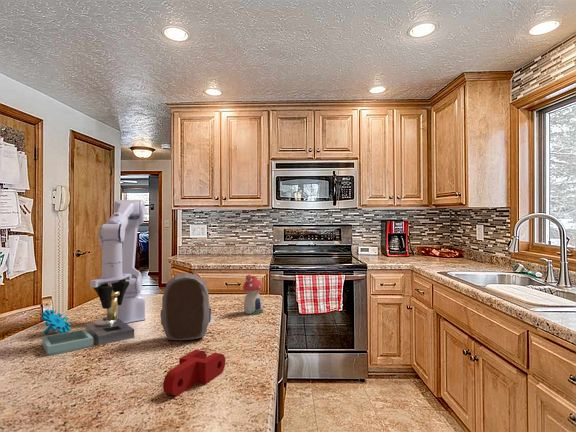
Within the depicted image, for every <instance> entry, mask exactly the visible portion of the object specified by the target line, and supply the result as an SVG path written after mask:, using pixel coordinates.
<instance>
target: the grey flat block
mask: <svg viewBox="0 0 576 432" xmlns="http://www.w3.org/2000/svg"><path fill="white" fill-rule="evenodd" d="M85 330H86V331H87V332H88V333H89V334H90V335H91V336H92V337H93V342H95V343H96V344H97V345H99V346H100V345H101V346H102V345H105V344H111V343H115V342H118V341H119V342H120V341H124V340H129V339H133V338H135V329H134V328H133V327H132V326H130V325H129V324H128V323H124V322H123V321H122V320H120V319H119V318H118V319H117V320H113V321H107V316H105V317H100V318H97V319H95V320H94V321H93V322H89V323H88V322H87V323H85Z"/></svg>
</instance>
